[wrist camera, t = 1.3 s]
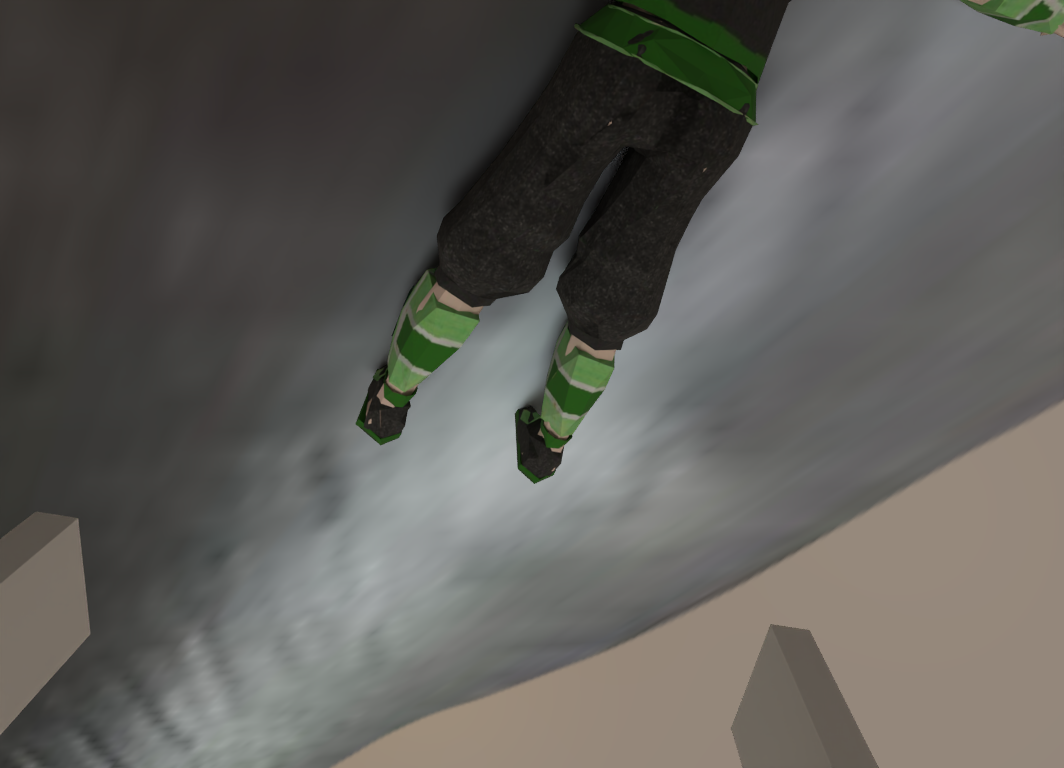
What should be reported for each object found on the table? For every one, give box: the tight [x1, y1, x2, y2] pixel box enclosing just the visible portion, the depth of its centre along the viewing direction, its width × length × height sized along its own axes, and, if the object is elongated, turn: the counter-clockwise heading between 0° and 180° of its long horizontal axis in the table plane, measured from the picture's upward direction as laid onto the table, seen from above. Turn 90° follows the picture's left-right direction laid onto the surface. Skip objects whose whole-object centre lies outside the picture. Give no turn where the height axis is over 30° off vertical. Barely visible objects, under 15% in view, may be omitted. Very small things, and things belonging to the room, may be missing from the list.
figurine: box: [356, 0, 1064, 484], centre depth 22 cm, size 26×6×30 cm
